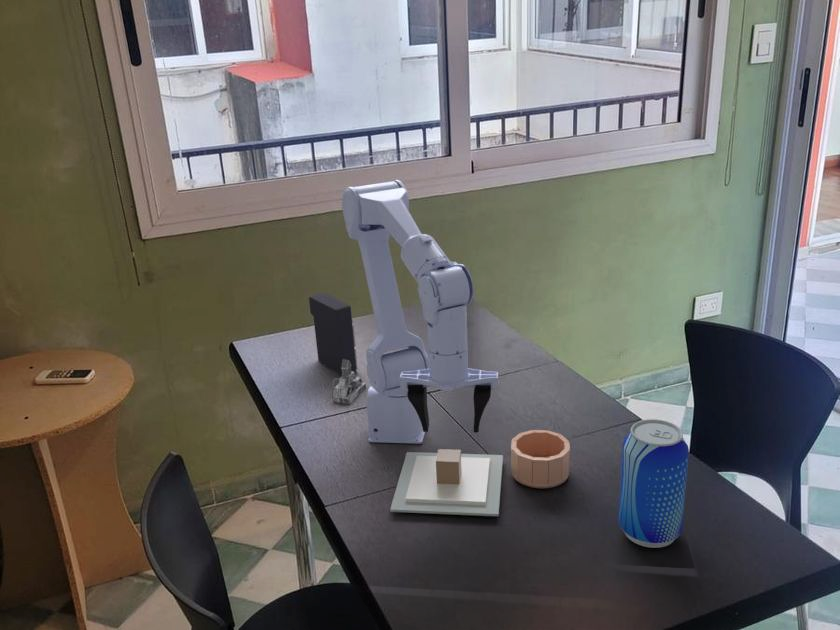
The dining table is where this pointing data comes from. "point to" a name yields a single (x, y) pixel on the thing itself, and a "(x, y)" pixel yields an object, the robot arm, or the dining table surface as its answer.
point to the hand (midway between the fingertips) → (451, 428)
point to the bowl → (540, 458)
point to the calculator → (333, 332)
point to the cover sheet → (447, 491)
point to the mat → (457, 509)
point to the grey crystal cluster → (347, 385)
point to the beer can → (653, 483)
